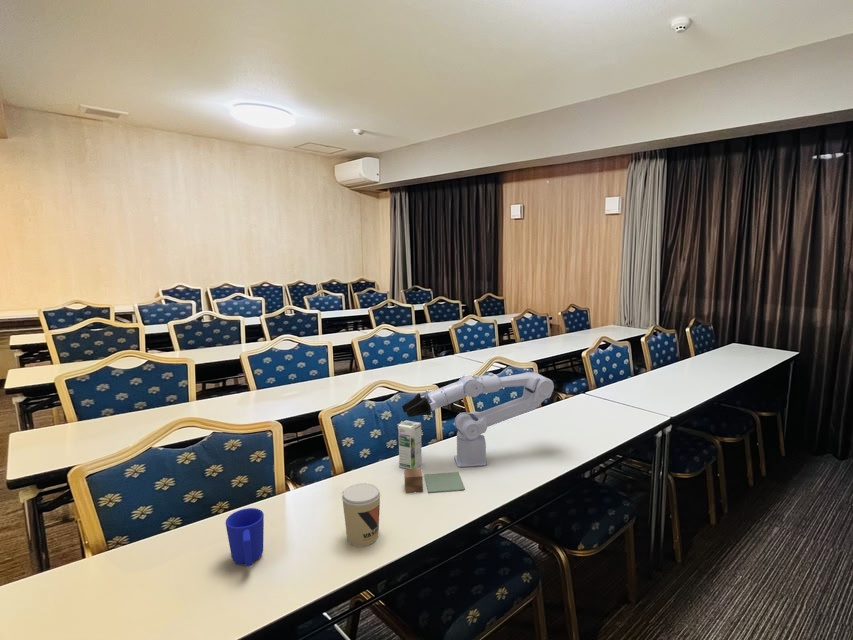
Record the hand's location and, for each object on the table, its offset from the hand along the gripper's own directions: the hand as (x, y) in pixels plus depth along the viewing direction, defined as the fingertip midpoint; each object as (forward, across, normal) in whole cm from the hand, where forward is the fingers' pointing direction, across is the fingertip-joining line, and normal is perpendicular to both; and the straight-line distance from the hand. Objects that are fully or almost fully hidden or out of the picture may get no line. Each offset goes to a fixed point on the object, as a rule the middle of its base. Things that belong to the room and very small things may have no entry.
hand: (404, 411), depth 147 cm
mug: (+48, +32, +12) cm, 59 cm away
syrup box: (+4, -6, +19) cm, 20 cm away
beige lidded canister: (+23, +29, +19) cm, 42 cm away
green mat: (-3, +8, +23) cm, 25 cm away
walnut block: (+6, +9, +21) cm, 23 cm away
